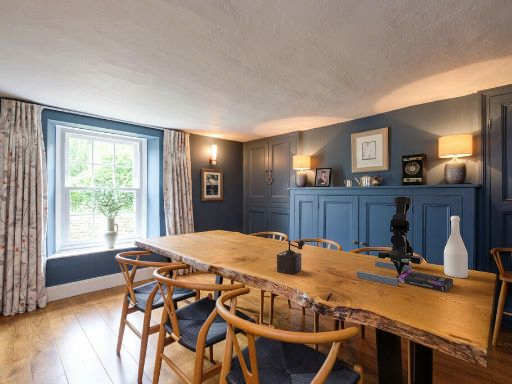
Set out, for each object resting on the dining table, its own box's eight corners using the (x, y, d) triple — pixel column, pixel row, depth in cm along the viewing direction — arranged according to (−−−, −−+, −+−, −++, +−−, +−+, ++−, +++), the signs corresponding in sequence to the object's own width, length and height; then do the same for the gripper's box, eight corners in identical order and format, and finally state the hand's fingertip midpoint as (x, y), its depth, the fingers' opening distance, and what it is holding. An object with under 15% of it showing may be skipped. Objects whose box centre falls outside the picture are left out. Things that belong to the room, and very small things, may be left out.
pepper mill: (275, 272, 139) (275, 238, 139) (284, 267, 148) (284, 235, 148) (303, 277, 130) (302, 241, 130) (311, 271, 140) (310, 237, 140)
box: (396, 283, 123) (446, 294, 109) (396, 275, 123) (446, 285, 109) (406, 276, 133) (453, 285, 118) (406, 269, 133) (453, 277, 118)
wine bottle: (446, 271, 139) (445, 215, 139) (469, 275, 132) (468, 216, 132) (442, 275, 132) (441, 216, 132) (466, 280, 125) (465, 217, 126)
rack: (375, 265, 150) (375, 260, 150) (411, 272, 138) (411, 266, 138) (357, 277, 129) (356, 271, 129) (397, 286, 117) (397, 279, 117)
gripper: (374, 242, 130) (374, 274, 130) (417, 248, 117) (417, 283, 117) (381, 240, 138) (381, 269, 138) (422, 244, 125) (422, 277, 125)
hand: (399, 274), depth 129 cm, fingers closed
